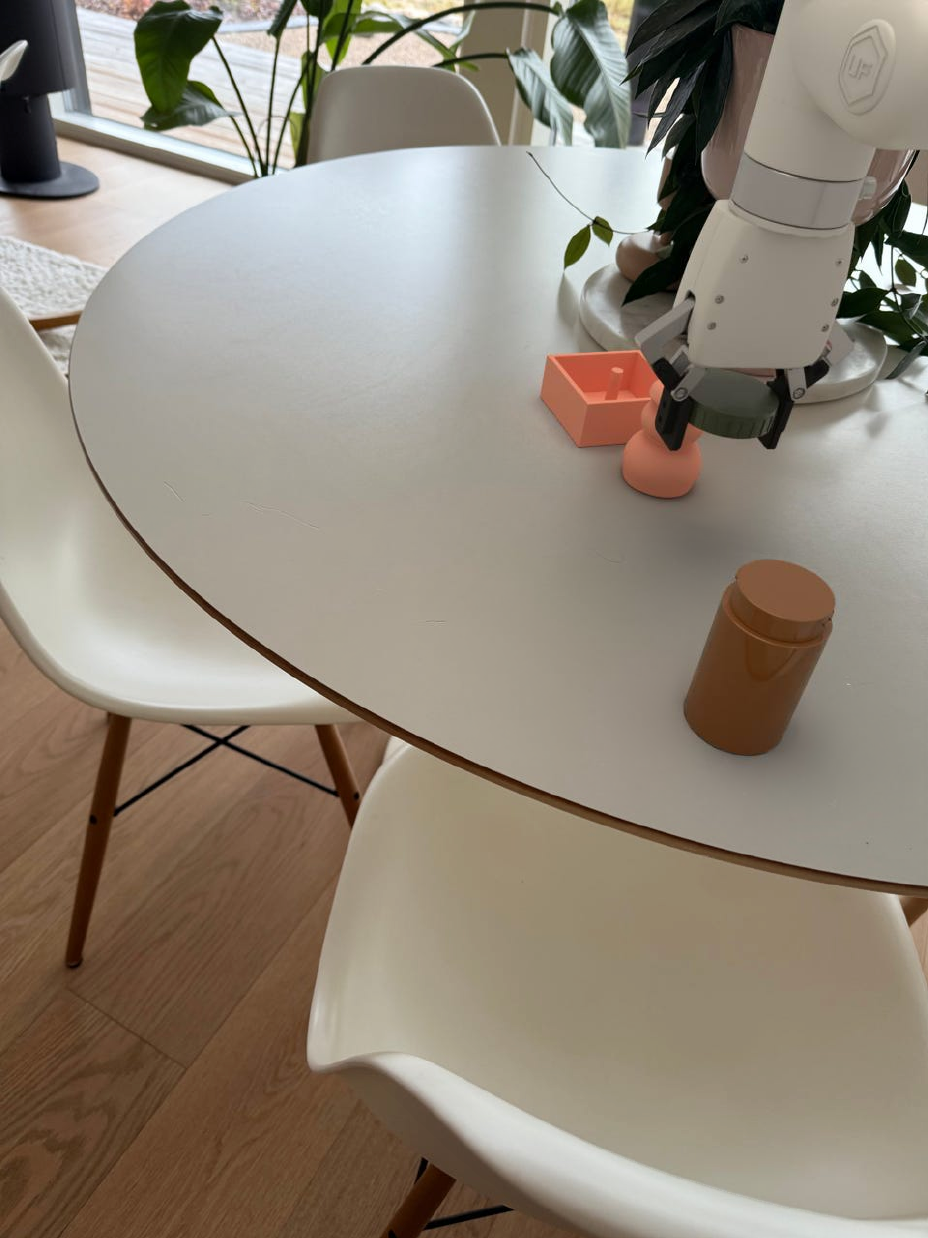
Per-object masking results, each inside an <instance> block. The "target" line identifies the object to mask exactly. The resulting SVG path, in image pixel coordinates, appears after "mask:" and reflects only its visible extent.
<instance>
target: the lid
mask: <svg viewBox="0 0 928 1238" xmlns="http://www.w3.org/2000/svg"><path fill="white" fill-rule="evenodd" d="M688 397H689V398H690V399H691V401H692V402H693V409H692V412H691V415H690V419H689V422H688V423H690V424H691V425H693V426H695V427H696V428H698V429H700V430H703V431H704V432H705V433H708V434H711V435H714V436H717V437H721V438H726V439H732V440H750V439H751V440H752V439H758V438H757V437H760V436H763V435H764V434H766V433H768V432H769V430H770V429H771V428H772V427H773V424H774V421H775V419H776V416H777V413H778V412H777V410H778V407H779V399H778V396H777V395H776V393H775V392H774V391H773V390H772V389H771V388H770V387H768V386H767V385H766V383H764V382H763V381H760V380H759V379H757V378H755V377H753V376H750V375H747V374H745V373H742V372H738V371H735V370H731V369H716V368H711V369H710V370H709V371H708V373H707V374H706V375H705V376H704V378H703V379H702V380H701V381H700V382H699V384H698V385H697V386H696V387H695V389H694V390H693V391H692V392H691V393H690V395H689V396H688Z"/></svg>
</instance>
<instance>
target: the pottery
mask: <svg viewBox="0 0 928 1238" xmlns="http://www.w3.org/2000/svg"><path fill="white" fill-rule="evenodd" d="M684 372H685V371H684ZM684 372H683V373H684ZM680 377H681V376H680ZM663 388H664V385H663V384H662V382H661V381H660V380H659V379H658V377H657V376H656V374H655V373H654V372H653V370H652V369H651V367H650V366H649V365H648V363H647V361H646V359H645V358H644V356H643V355H642V353H641V351H640V350H639V349H633V350H630V349H629V350H613V351H612V350H611V351H595V352H592V351H591V352H574V353H572V352H571V353H557V354H554V353H553V354H547V355H546V360H545V366H544V372H543V376H542V382H541V389H540V393H539V398H541V400H542V401H543V402H544V404H545V405H546V407H547V408H548V409H549V411H550V412H551V413H552V414H553V416H554V417H555V419H556V420H557V421H558V422H559V424H560V425H561V426H562V428H563V429H564V430H565V432H566V433H567V434H568V435H569V437H570V438H571V439H572V441H573V442H574V443H575V445H576V446H577V448H587V447H599V446H610V445H611V446H612V445H623V444H625V446H624V450H623V452H622V457H621V459H622V477H623V478H624V480H625V482H626V483H627V484H628V485H629V486H630V487H632V488H633V489H635V490H636V491H639V492H641V493H642V494H646V495H648V496H652V497H656V498H666V499H669V498H671V499H673V498H678V497H682V496H684V495H687V493H689V492H690V490H691V489H692V487H693V486H694V484H695V482H696V481H697V479H698V477H699V476H700V474H701V471H702V463H703V460H702V459H703V458H702V454H701V450H700V447H699V445H698V444H697V441H698V440H699V439H700V438H701V437H702V435H703V434H704V432H705V431H703V430H700V429H698V428H696V427H695V426H693V425H691V424H690V423H688V425H687V429H686V432H685V436H684V439H683V442H682V446H681V448H680V449H679V450H678V451H670V450H669V449H668V447H667V446H666V444H665V443H664V441H663V440H662V438H661V437H660V435H659V434H658V432H657V431H656V429H655V418H656V414H657V411H658V407H659V403H660V400H661V396H662V392H663Z"/></svg>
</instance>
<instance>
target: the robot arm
mask: <svg viewBox="0 0 928 1238" xmlns="http://www.w3.org/2000/svg"><path fill="white" fill-rule="evenodd" d="M770 49H771V50H770V53H769V56H768V60H767V63H766V68H765V71H764V75H763V77H762V81H761V85H760V89H759V92H758V96H757V99H756V102H755V106H754V109H753V114H752V116H751V121H750V124H749V128H748V131H747V135H746V139H745V142H744V146H743V150H742V153H741V157H740V161H739V164H738V168H737V170H736V175H735V178H734V181H733V185H732V189H731V192H730V196H729V199H718V200H716V201H715V203H714V205H713V207H712V208H711V211H710V213H709V214H708V216H707V218H706V220H705V222H704V224H703V226H702V228H701V231H700V232H699V234H698V237H697V240H696V241H695V244H694V247H693V249H692V252H691V253H690V257H689V260H688V262H687V264H686V267H685V270H684V271H683V272H684V273H683V275H682V278H681V281H680V283H679V287H678V289H677V293H676V296H675V299H674V301H673V305H672V308H671V309H670V310H669V311H667V312H666V313H664V314H663V315H662V316H660V317H659V318H657V319H656V320H654V321H653V322H652V323H650V324H648V325H647V326H646V327H644V328H643V329H642V330H640V331H638V332H637V333H636V334H635V336H634V343H635V345H636V346H637V348H638V350H640V351H641V353H642V355H643V356H644V358H645V359H646V361H647V363H648V365H649V366H650V367H651V369H652V370H653V372H654V373H655V374H656V376H657V377H658V379H659V380H660V381H661V382H662V384H663V385H664V388H663V392H662V396H661V400H660V403H659V407H658V411H657V414H656V418H655V429H656V431H657V432H658V434H659V435H660V437H661V438H662V440H663V441H664V443H665V444H666V446H667V447H668V449H669V450H670V451H678V450H679V449H680V448H681V446H682V442H683V439H684V436H685V432H686V429H687V425H688V422H689V419H690V415H691V412H692V409H693V402H692V401H691V399H690V398H689V397H688V396H689V395H690V393H691V392H692V391H693V390H694V389H695V387H696V386H697V385H698V384H699V382H700V381H701V380H702V379H703V378H704V376H705V375H706V374H707V373H708V371H709V370H710V369H724V370H772V372H773V380H767V381H766V382H765V384H766V385H767V386H768V387H770V388H771V389H772V390H773V391H774V392H775V393H776V395H777V396H778V399H779V407H778V410H777V412H778V413H777V416H776V419H775V421H774V424H773V427H772V428H771V429H770V430H769V432H768V433H766V434H764V435H763V436H760V437H757V438H756V439H757V440H758V441H759V442H760V444H761V445H762V447H764V448H765V449H766V450H775V449H776V448H777V446H778V444H779V441H780V438H781V436H782V433H784V432H785V429H786V427H787V424H788V421H789V419H790V416H791V413H792V410H793V409H794V405H795V403H796V402H799V401H801V400H803V399H804V398H805V397H806V395H807V392H808V389H809V388H811V387H812V386H813V385H815V384H816V383H818V382H819V381H820V380H822V379H823V378H824V377H825V376H827V375H828V373H829V372H830V368H831V367H832V368H834V367H835V366H836V365H837V364H839V363H840V362H841V361H842V360H843V359H845V358H846V357H847V356H848V355H850V354H851V353H852V351H853V350H854V347H855V345H854V342H853V341H852V339H851V338H850V337H849V335H848V334H847V332H846V331H845V329H844V328H843V326H842V325H841V324H840V322H839V321H838V320H837V318H836V317H837V314H838V311H839V308H840V304H841V301H842V298H843V293H844V289H845V285H846V283H847V278H848V274H849V269H850V266H851V265H850V264H851V259H852V253H853V248H854V240H855V232H856V231H855V230H856V226H855V223H854V222H853V221H852V220H851V219H852V217H853V215H854V214H855V211H856V208H857V205H858V203H859V202H861V201H862V200H871V199H872V198H873V197H875V195H876V192H877V190H878V189H877V188H878V182H877V179H876V177H874V176H868V175H869V170H870V168H871V164H872V162H873V159H874V156H875V154H876V151H877V149H879V150H886V151H928V0H784V3H783V5H782V10H781V14H780V17H779V21H778V24H777V27H776V31H775V34H774V38H773V42H772V46H771V48H770ZM672 340H674V341H676V342H679V343H682V344H681V345H680V347H679V348H678V349H677V350H676V352H675V353H674V355H673V356H672V357H671V358H670V359H668V358H667V356H666V354H665V352H664V348H665V346H666V345H667V344H668V343H669V342H671V341H672ZM684 371H685V372H684ZM683 372H684V373H683ZM680 376H681V377H680Z"/></svg>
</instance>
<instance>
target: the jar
mask: <svg viewBox="0 0 928 1238" xmlns="http://www.w3.org/2000/svg"><path fill="white" fill-rule="evenodd" d="M733 579H735V580H734V581H733V582H731V583H730V584H728V586H727V587H726V588H725V589H724V591H723V594H722V596H721V599H720V601H719V605H718V606H717V610H716V613H715V615H714V618H713V621H712V624H711V627H710V629H709V632H708V636H707V637H706V640H705V643H704V645H703V649H702V652H701V653H700V657H699V659H698V663H697V665H696V668H695V671H694V673H693V676H692V680H691V682H690V685H689V688H688V690H687V693H686V696H685V698H684V701H683V713H684V716H685V717H684V718H685V719H686V722H687V723H688V725H689V726H690V728H691V730H693V731H694V733H695V734H696V735H697V736H698V737H700V738H701V739H702V740H703V741H704V742H706V743H707V744H710V745H711V746H713V747H714V748H717V749H718V750H721V751H724V752H727V753H731V754H733V755H740V756H756V755H762V754H765V753H768V752H770V751H772V750H774V749H775V748H776V747H777V746H778V745H779V744H780V743H781V742H782V739H783V738H784V735H785V733H786V731H787V728H788V727H789V724H790V722H791V720H792V718H793V716H794V714H795V711H796V710H797V707H798V705H799V703H800V701H801V699H802V697H803V695H804V692H805V690H806V688H807V686H808V684H809V682H810V679H811V677H812V675H813V673H814V671H815V669H816V667H817V664H818V662H819V660H820V657H821V656H822V654H823V652H824V650H825V648H826V646H827V643H828V642H829V639H830V637H831V634H832V633H833V628H834V627H833V626H834V624H833V617H834V615H835V609H836V597H835V594H834V591H833V590H832V588H831V587H830V585H829V584H828V583H827V582H826V581H825V580H824V579H823V578H822V577H821V576H819V575H818V574H817V573H815V572H813V571H811V570H810V569H808V568H806V567H804V566H802V565H799V564H797V563H794V562H791V561H786V560H782V559H773V558H764V559H756V560H753V561H750V562H747V563H746V564H743V565H742V566H741V567H740V568H738V569H737V571H736V573H735V575H734V578H733Z"/></svg>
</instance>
